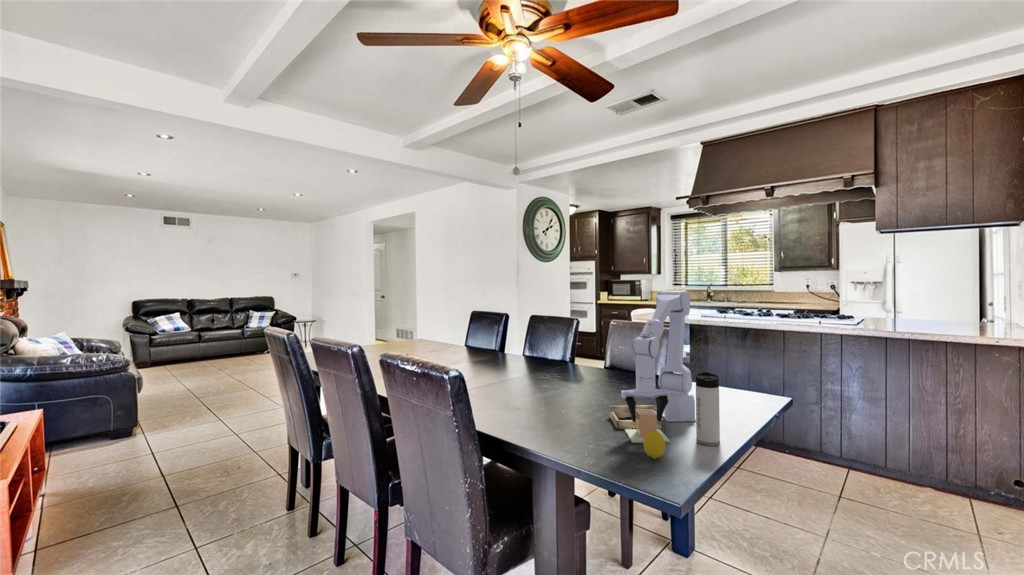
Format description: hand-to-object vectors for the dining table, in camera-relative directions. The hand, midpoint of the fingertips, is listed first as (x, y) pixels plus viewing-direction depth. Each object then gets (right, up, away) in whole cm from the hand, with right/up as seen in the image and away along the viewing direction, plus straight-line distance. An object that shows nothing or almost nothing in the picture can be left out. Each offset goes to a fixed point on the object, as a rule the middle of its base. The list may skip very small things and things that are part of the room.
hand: (646, 420), depth 133 cm
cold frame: (+1, -5, +13) cm, 14 cm away
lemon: (-3, -5, -17) cm, 18 cm away
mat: (0, -5, 0) cm, 5 cm away
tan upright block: (0, -4, 0) cm, 4 cm away
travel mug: (+16, -5, -6) cm, 18 cm away
